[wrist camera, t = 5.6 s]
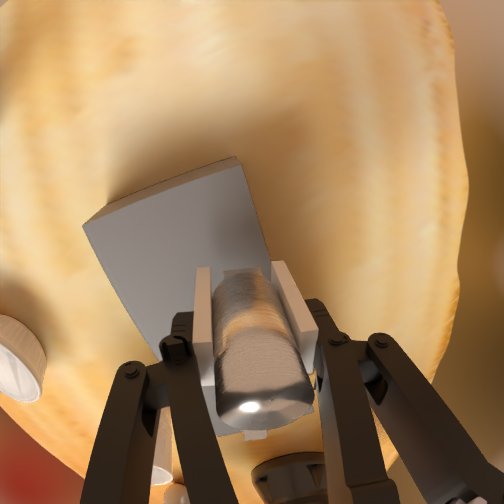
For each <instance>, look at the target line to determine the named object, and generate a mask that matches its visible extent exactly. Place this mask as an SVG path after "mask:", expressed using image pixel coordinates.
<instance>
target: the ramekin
mask: <svg viewBox="0 0 504 504" xmlns="http://www.w3.org/2000/svg"><path fill="white" fill-rule="evenodd" d="M45 370H46V357H45V353H44V351H43V348H42V346H41V344H40V342H39V341H38V339H37V338H36V337H35V335H34V334H33V333H32V332H31V331H30V330H29V329H28V328H27V327H26V326H25V325H23V324H22V323H21V322H19V321H18V320H16V319H14V318H12V317H10V316H7V315H0V391H1V392H2V393H4V394H6V395H7V396H9V397H11V398H13V399H16V400H18V401H22V402H35V401H37V400H38V399H39V398H40V396H41V394H42V389H43V386H42V383H43V379H44V374H45Z"/></svg>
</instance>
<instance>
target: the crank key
mask: <svg viewBox="0 0 504 504" xmlns="http://www.w3.org/2000/svg"><path fill="white" fill-rule="evenodd" d="M223 273H224V280H223V281H222V282H221V283H220V284H219V285H218V286H217V287H216V289H215V291H214V293H213V296H212V320H213V347H214V381H215V400H216V412H217V415H218V416H219V418H220V419H221V420H222V421H223V422H224V423H226V424H228V425H229V426H232V427H234V428H238V430H240V431H241V432H244V439H245V441H250V440H258V439H266V438H267V430H269V429H274V428H278V427H281V426H284V425H287V424H289V423H291V422H293V421H295V420H296V419H298V418H300V417H301V416H302V415H303V414H305V413H306V412H307V411H308V410H309V408H310V407H311V405H312V403H313V401H314V396H315V394H314V390H313V387H312V384H311V382H310V379H309V376H308V373H307V371H306V368H305V365H304V363H303V360H302V357H301V355H300V352H299V349H298V347H297V344H296V341H295V339H294V336H293V333H292V330H291V328H290V325H289V322H288V320H287V317H286V315H285V312H284V309H283V307H282V304H281V301H280V299H279V296H278V293H277V291H276V288H275V287H274V285H273V284H272V282H271V281H269V280H268V279H267V278H265V277H264V276H262V273H261V270H260V267H256V268H246V269H236V270H226V271H223Z"/></svg>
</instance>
